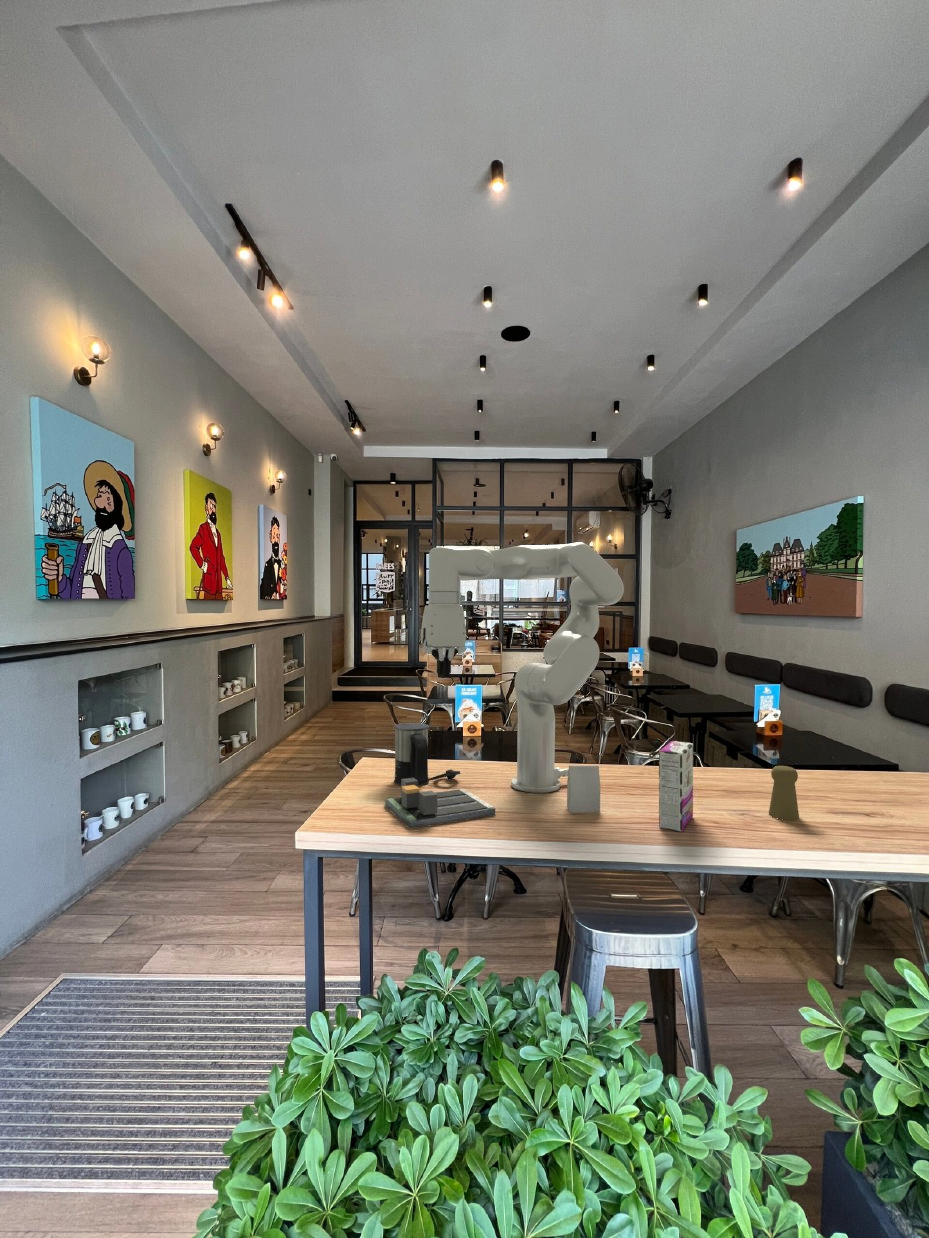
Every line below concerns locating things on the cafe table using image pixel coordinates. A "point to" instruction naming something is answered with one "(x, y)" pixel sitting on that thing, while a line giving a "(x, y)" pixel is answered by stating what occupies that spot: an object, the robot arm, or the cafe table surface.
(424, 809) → the breaker near
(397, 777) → the milk frother
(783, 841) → the cafe table surface
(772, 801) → the cork
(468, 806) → the panel
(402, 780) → the block
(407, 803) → the block
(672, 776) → the candy bar box
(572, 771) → the grey boxy piece
